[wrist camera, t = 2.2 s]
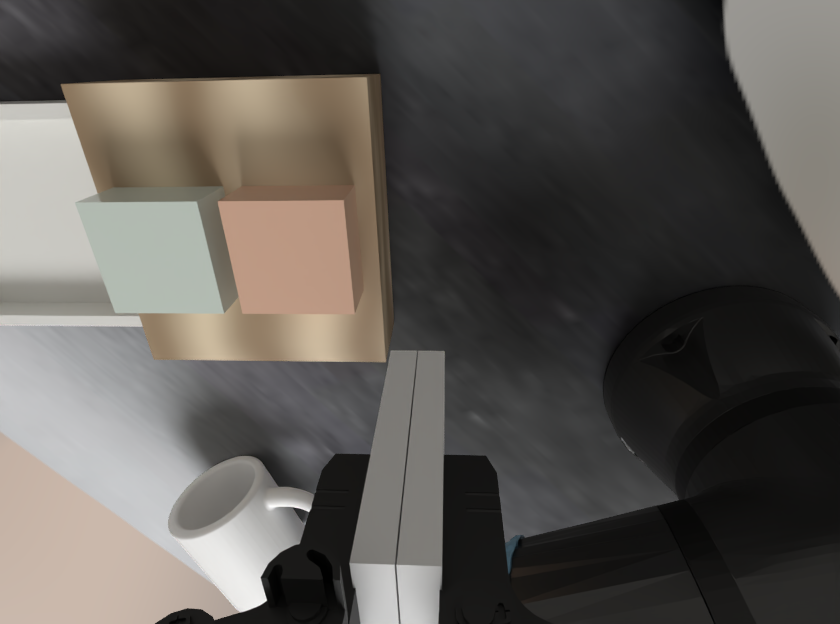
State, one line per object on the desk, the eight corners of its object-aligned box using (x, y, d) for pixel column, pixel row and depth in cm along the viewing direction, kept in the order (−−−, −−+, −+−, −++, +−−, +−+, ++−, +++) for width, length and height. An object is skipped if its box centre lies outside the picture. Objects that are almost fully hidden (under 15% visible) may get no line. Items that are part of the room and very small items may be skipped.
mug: (251, 537, 47) (216, 622, 40) (196, 465, 42) (146, 546, 35) (364, 514, 44) (348, 600, 37) (318, 435, 40) (290, 516, 33)
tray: (127, 98, 28) (81, 104, 25) (187, 309, 35) (157, 338, 31) (-111, 103, 29) (-189, 110, 25) (-9, 308, 36) (-59, 336, 32)
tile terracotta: (354, 184, 25) (343, 200, 22) (363, 289, 28) (355, 314, 25) (241, 186, 25) (217, 201, 22) (262, 289, 28) (242, 313, 25)
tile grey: (223, 186, 25) (196, 201, 23) (245, 289, 28) (224, 313, 25) (113, 187, 26) (74, 202, 23) (146, 289, 28) (115, 313, 26)
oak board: (380, 73, 27) (366, 77, 22) (393, 322, 34) (385, 362, 30) (122, 79, 28) (60, 84, 23) (190, 321, 35) (153, 359, 31)
